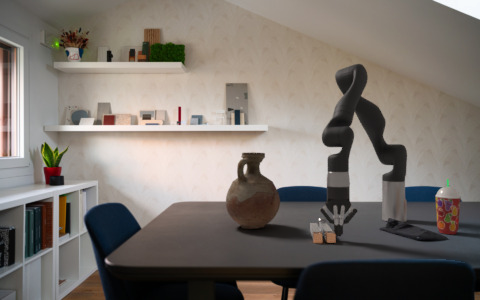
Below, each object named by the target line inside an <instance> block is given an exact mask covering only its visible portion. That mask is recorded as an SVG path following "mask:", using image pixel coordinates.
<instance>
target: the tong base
mask: <svg viewBox="0 0 480 300" xmlns="http://www.w3.org/2000/svg"><path fill="white" fill-rule="evenodd" d="M319 222H325V223H327V219H326V218H325V217H317V222H310V223H309V226H310V227H309V232H310V235H311V237H312V242H313V244H323V235H322V232H321V231H320V229H319Z"/></svg>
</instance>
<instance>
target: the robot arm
mask: <svg viewBox="0 0 480 300" xmlns="http://www.w3.org/2000/svg"><path fill="white" fill-rule="evenodd" d="M368 76H369V75H368V72H367V69H366V67H365V66H364V65H363V64H362V63H356V64H353V65H350V66H346V67H344V68H341V69H338V70H337V71H336V72H335V74H334V78H335V83H336V84H337V87H338V88H339V90H340V92H341V93H342V94H343V95H342V96H341V98H340V99H339V100H338V101H337V103H336V105H335V106H334V111H333V114H332V117H331V119H330V120H329V121H328V123H327V124H326V126H325V127H324V129H323V130H322V134H321V140H322V144H323V145H324V146H325V147H327V148H341V149H340V151H339V152H337V153H334V154H332V153H331V154H330V155H328V157H327V175H326V201H325V205H324V206H322V207H320V208H319V211H320V212H321V214H322V215H323V216H324V218H326V221H327V222H328V223H329V224H332V225H333V231H334V232H335V234H336V237H342V235H343V234H344V225H346V224H349V223H350V221H351V220H352V219H353V218H354V217H355V215H356V214H357V213H358V209H357V208H356V207H354V206H352V203H351V201H350V198H351V197H350V196H351V195H350V194H351V191H350V190H351V189H350V185H351V182H350V174H349V173H350V171H349V170H350V167H349V163H350V161H349V159H350V155H351V151H352V147H353V143H354V140H355V139H354V138H355V132H354V130H353V128H352V127H351V126H352V124H353V120H354V115H356V116H357V119H358V121H359V123H360V124H361V125H360V126H362V129H364V131H365V132H366V134H367V137H368V139H369V140H370V143H371V144H372V147H373V149H374V152H375V154H376V157H377V159H378V160H379V162H380V163H381V164H382V165H384V166H392V169H391V170H390V171H388V172H385V173H384V174H382V177H381V180H382V181H381V186H382V187H381V191H382V192H381V193H382V195H381V197H382V199H381V202H382V203H381V205H382V206H381V208H382V209H381V210H382V211H381V213H382V214H381V218H382V219H381V220H382V221H385V222H387V221H388V218H392V219H395V220H398V221H401V222H404V223H408V220H407V209H408V208H407V205H408V204H407V201H408V200H407V199H406V175H407V163H408V153H407V152H408V150H407V149H406V148H407V147H406V146H405V145H404V144H401V143H400V144H399V143H397V144H396V143H393V144H390V143H389V144H388V143H387V142H386V140H385V139H384V132H385V129H386V125H387V124H386V123H387V122H386V118H385V116H384V114H383V112H382V111H381V109H380V108H379V106H378V105H376V104H375V103H374V102H372V101H370V100H368V99H367V98H365V97H364V96H362V94H363V92H364V91H365V88H366V86H367V83H368V79H369V77H368ZM328 211H329V212H330V214H332V218H331V217H330V215H329V214H328V213H327V212H328ZM348 211H349V213H348V214H347V212H348ZM346 214H347V215H346ZM345 215H346V217H345Z"/></svg>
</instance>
